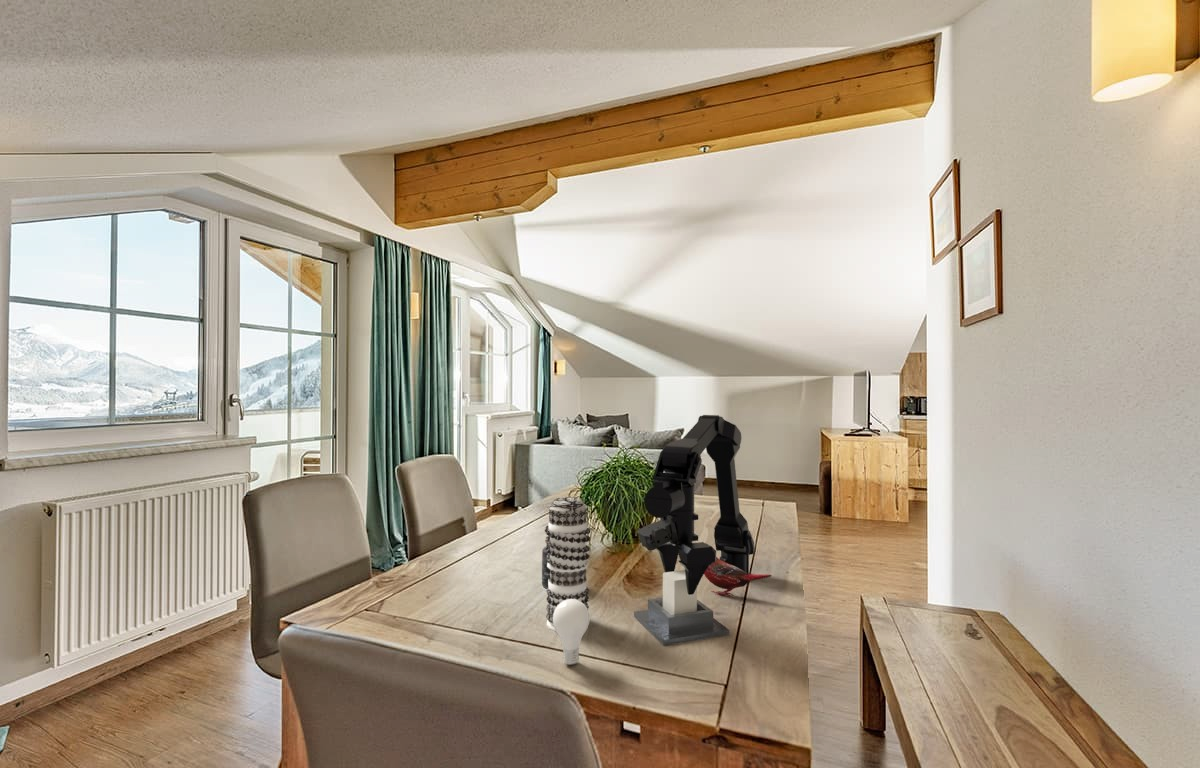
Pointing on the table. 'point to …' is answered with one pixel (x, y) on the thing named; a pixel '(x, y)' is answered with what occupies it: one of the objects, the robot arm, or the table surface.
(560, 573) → the decorative candle
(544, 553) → the pill bottle
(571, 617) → the lightbulb
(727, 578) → the decorative bird figurine
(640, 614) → the square socket
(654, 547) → the robot arm
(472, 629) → the table surface
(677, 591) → the square peg
